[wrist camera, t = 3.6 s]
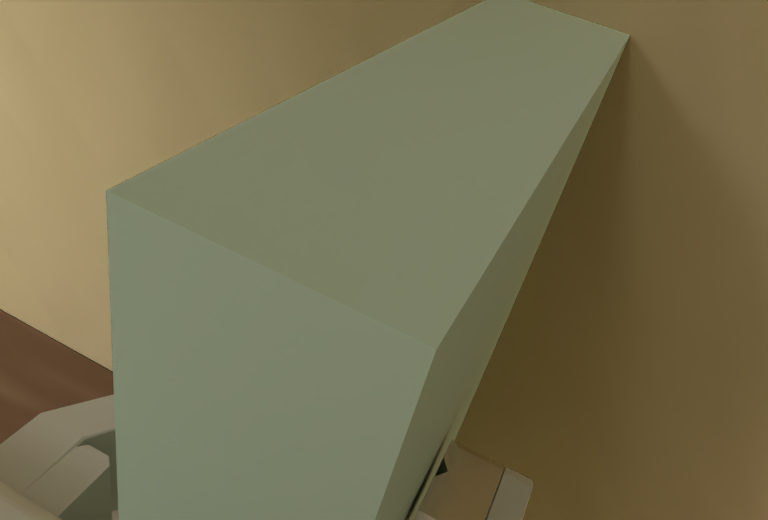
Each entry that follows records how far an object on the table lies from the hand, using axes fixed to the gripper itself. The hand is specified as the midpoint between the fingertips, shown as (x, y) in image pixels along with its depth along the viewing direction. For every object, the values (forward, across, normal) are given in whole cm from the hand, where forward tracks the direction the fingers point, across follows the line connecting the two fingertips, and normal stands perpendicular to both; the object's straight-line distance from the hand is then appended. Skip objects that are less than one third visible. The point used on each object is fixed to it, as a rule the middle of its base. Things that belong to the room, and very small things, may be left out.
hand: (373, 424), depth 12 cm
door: (+5, 0, 0) cm, 5 cm away
